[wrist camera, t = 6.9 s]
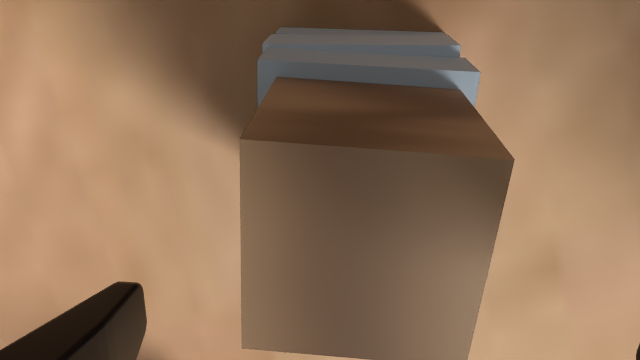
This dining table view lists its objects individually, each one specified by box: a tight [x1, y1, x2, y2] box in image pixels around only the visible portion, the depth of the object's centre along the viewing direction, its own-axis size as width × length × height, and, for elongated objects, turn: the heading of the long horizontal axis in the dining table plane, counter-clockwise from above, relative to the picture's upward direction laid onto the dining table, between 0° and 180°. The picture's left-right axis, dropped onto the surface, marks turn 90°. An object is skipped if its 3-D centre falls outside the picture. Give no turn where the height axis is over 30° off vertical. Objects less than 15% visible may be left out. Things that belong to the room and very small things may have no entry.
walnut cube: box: [240, 77, 515, 360], centre depth 12 cm, size 5×5×5 cm
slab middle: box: [262, 34, 461, 57], centre depth 17 cm, size 6×6×2 cm
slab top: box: [257, 47, 481, 109], centre depth 16 cm, size 6×6×2 cm
